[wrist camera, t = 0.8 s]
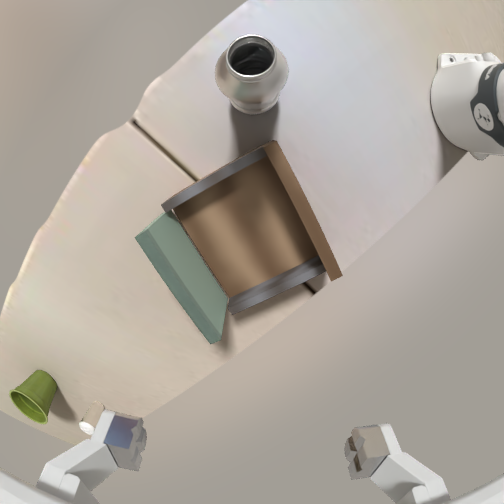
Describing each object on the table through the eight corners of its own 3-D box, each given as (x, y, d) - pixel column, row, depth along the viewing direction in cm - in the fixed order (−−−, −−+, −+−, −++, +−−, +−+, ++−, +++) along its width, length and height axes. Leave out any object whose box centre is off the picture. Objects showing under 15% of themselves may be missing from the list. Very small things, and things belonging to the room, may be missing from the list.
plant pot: (70, 400, 61) (53, 430, 51) (37, 388, 61) (20, 415, 51) (57, 368, 57) (36, 399, 47) (23, 357, 57) (2, 384, 46)
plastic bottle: (288, 100, 37) (315, 69, 18) (245, 125, 38) (235, 113, 20) (262, 63, 35) (266, 4, 16) (220, 87, 36) (188, 47, 18)
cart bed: (272, 140, 39) (276, 140, 31) (327, 249, 45) (342, 275, 36) (173, 195, 42) (153, 210, 34) (234, 294, 48) (230, 327, 39)
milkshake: (112, 411, 61) (99, 441, 52) (96, 410, 62) (83, 438, 53) (103, 399, 60) (89, 429, 50) (87, 398, 60) (72, 426, 51)
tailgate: (170, 208, 40) (145, 230, 30) (227, 298, 45) (220, 340, 35) (161, 213, 40) (134, 237, 31) (219, 302, 45) (210, 344, 36)
